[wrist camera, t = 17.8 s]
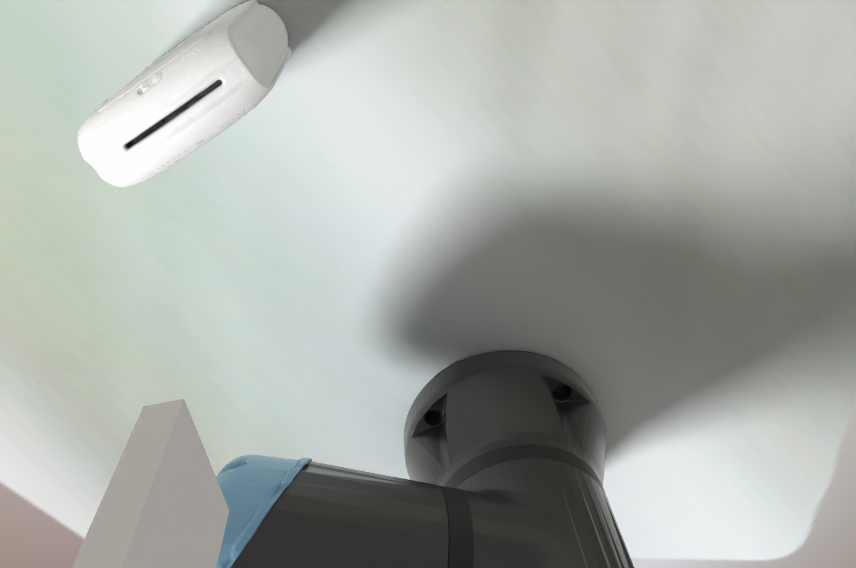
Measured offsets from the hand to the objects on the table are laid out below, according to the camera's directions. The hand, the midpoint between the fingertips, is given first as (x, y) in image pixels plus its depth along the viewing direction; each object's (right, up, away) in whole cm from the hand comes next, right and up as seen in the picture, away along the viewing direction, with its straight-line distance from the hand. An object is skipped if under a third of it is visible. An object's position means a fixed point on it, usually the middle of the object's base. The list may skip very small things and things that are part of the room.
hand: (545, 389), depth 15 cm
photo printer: (-15, +15, +33) cm, 39 cm away
